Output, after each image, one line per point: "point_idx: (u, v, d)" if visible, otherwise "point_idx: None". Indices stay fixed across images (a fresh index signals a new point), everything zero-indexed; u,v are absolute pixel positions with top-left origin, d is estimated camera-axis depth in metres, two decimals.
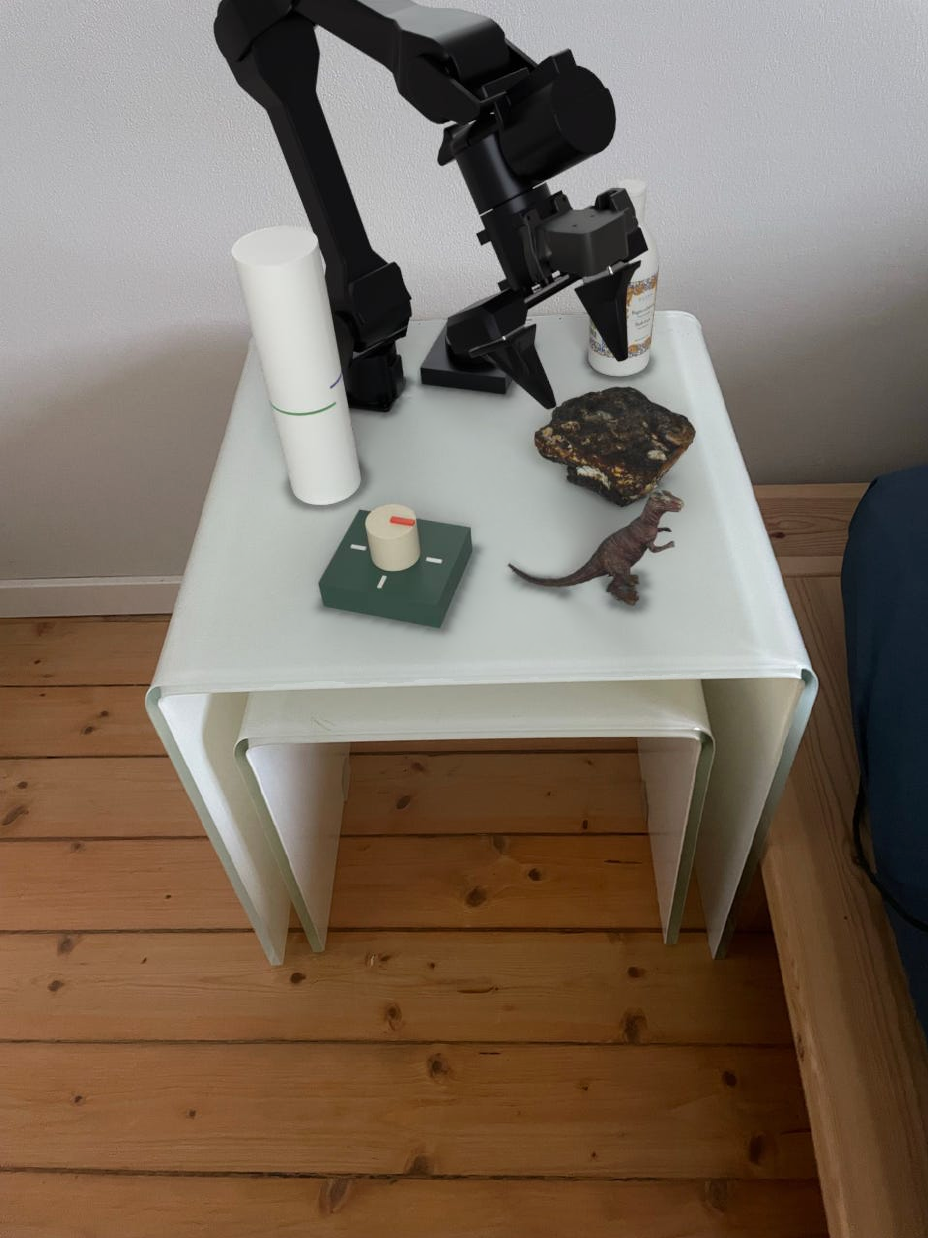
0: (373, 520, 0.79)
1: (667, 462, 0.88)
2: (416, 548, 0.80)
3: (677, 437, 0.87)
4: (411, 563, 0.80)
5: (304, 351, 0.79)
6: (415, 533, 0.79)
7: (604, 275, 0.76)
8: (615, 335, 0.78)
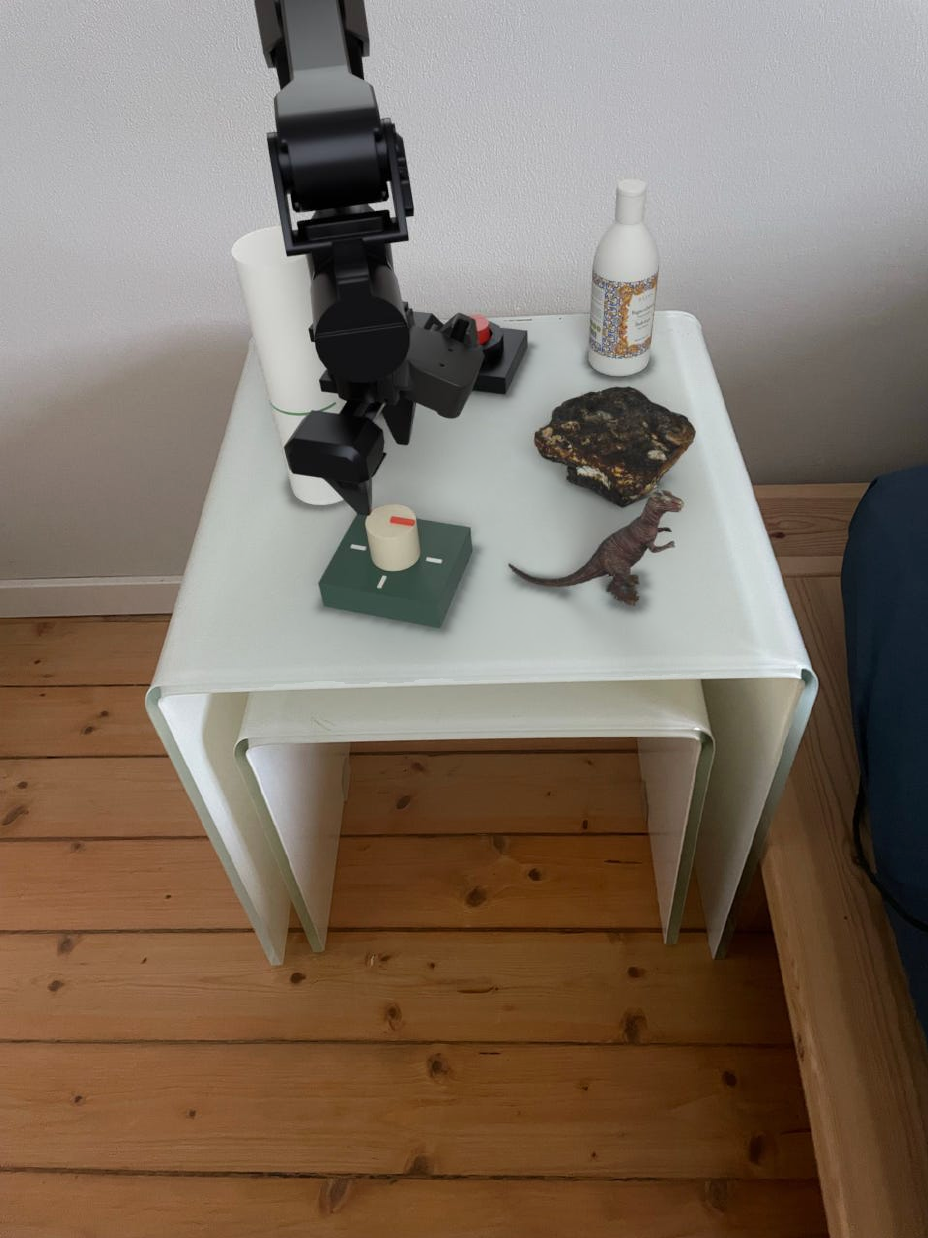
0: (373, 520, 0.79)
1: (667, 462, 0.88)
2: (416, 548, 0.80)
3: (677, 437, 0.87)
4: (411, 563, 0.80)
5: (304, 351, 0.79)
6: (415, 533, 0.79)
7: None
8: (403, 423, 0.76)
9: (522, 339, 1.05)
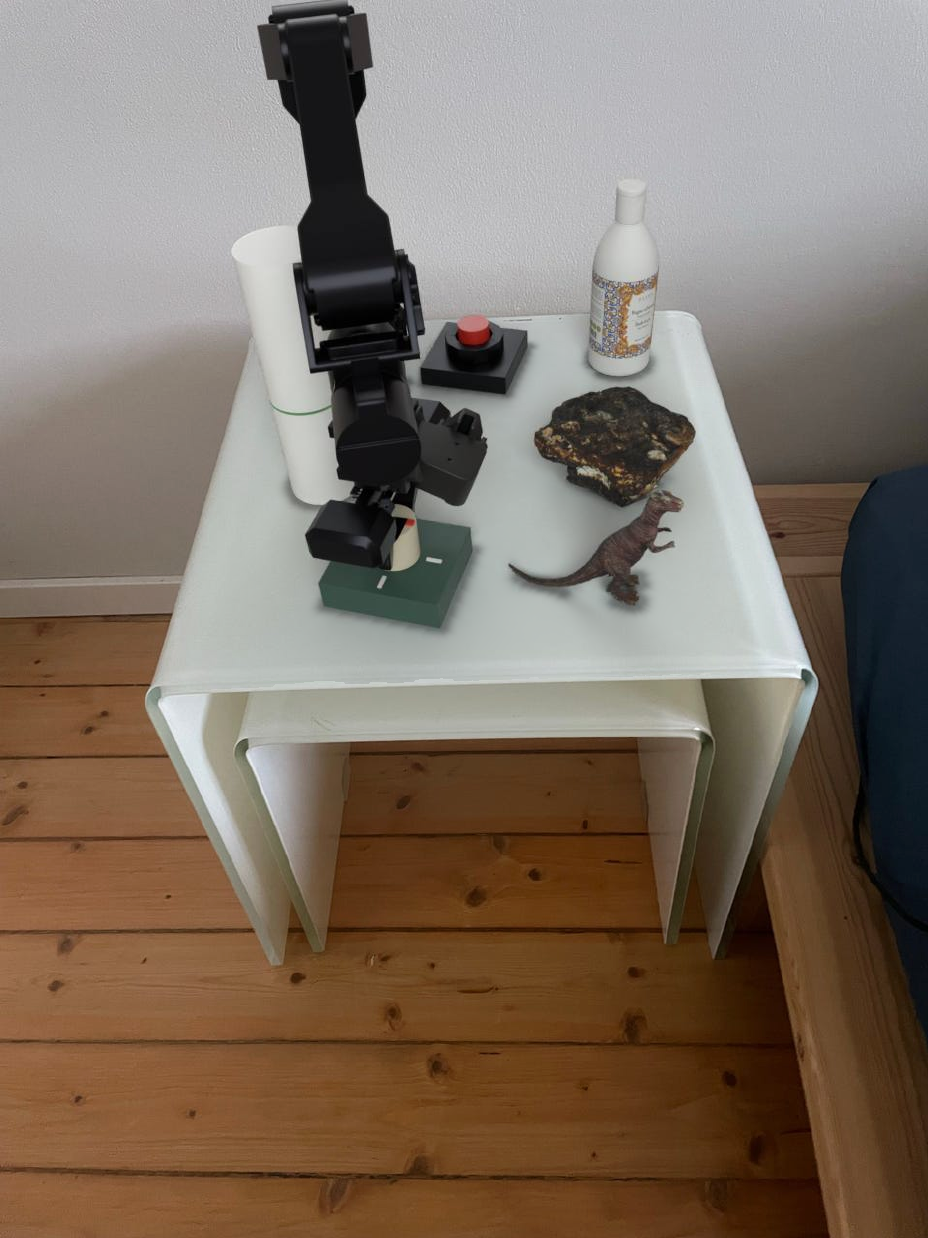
0: None
1: (667, 462, 0.88)
2: (416, 548, 0.80)
3: (677, 437, 0.87)
4: (411, 563, 0.80)
5: (304, 351, 0.79)
6: (415, 533, 0.79)
7: None
8: None
9: (522, 339, 1.05)
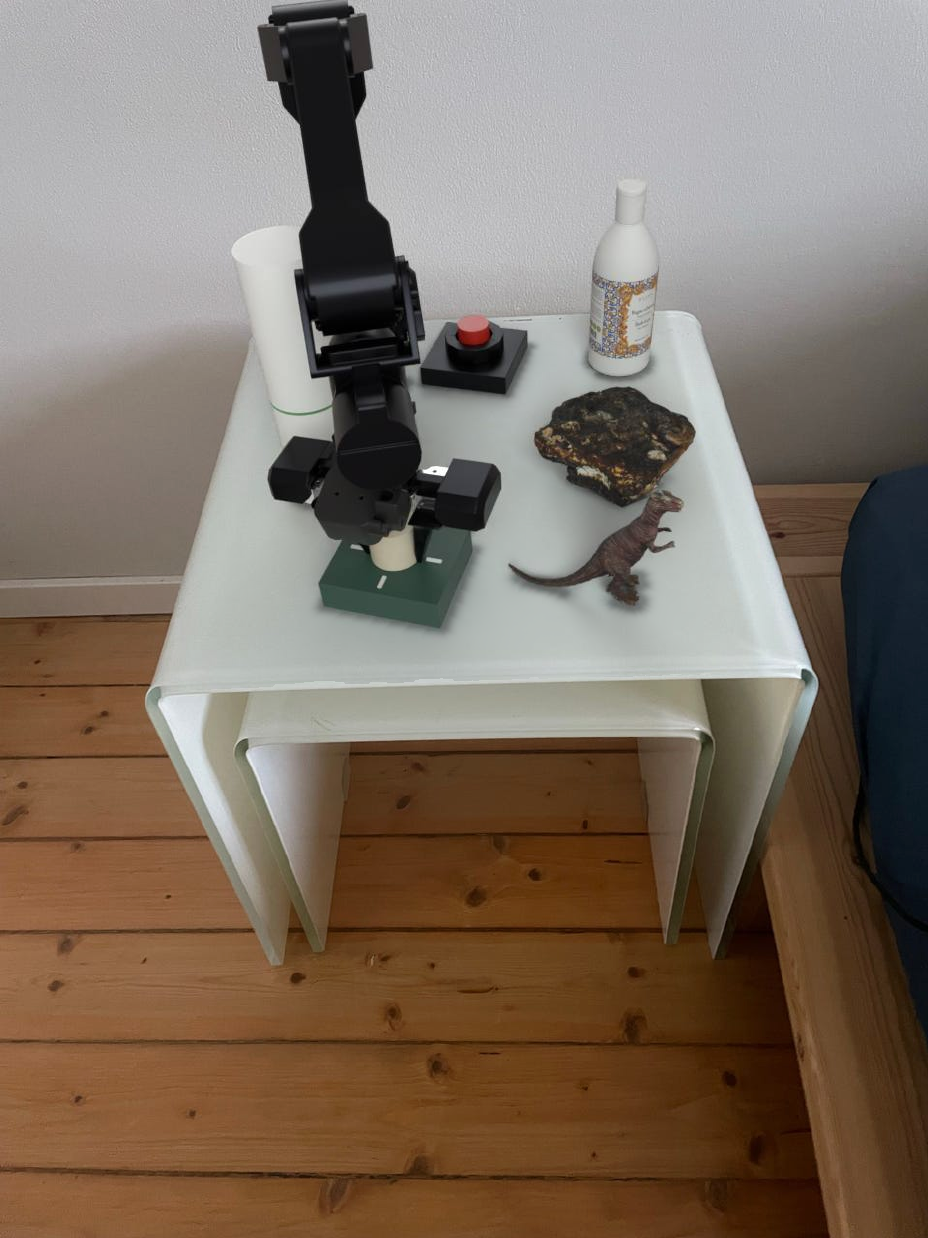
0: None
1: (667, 462, 0.88)
2: (383, 559, 0.79)
3: (677, 437, 0.87)
4: (376, 563, 0.80)
5: (304, 351, 0.79)
6: (383, 546, 0.78)
7: None
8: None
9: (522, 339, 1.05)
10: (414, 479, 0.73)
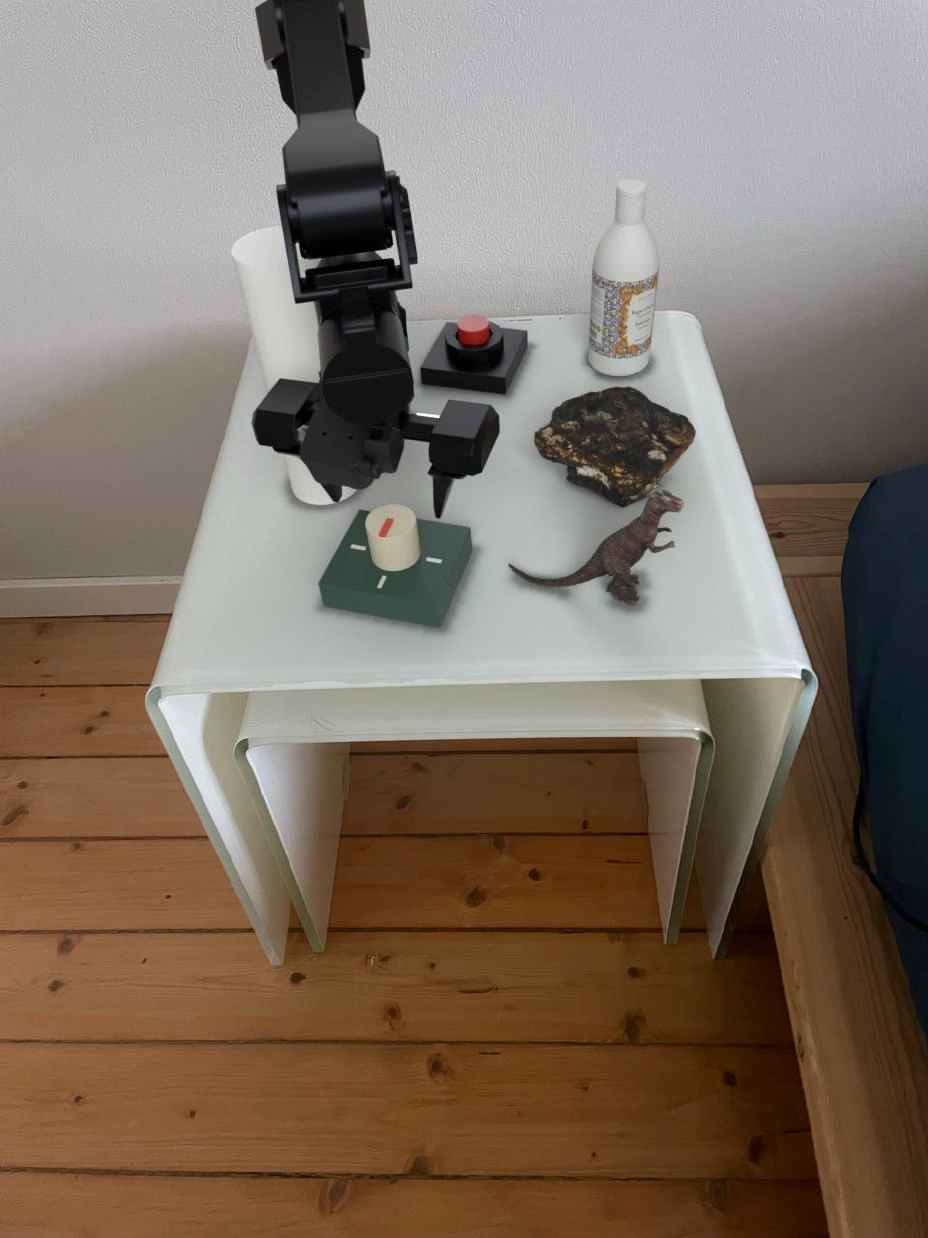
0: (392, 509, 0.79)
1: (667, 462, 0.88)
2: (383, 559, 0.79)
3: (677, 437, 0.87)
4: (376, 563, 0.80)
5: (304, 351, 0.79)
6: (383, 546, 0.78)
7: None
8: None
9: (522, 339, 1.05)
10: (406, 421, 0.69)
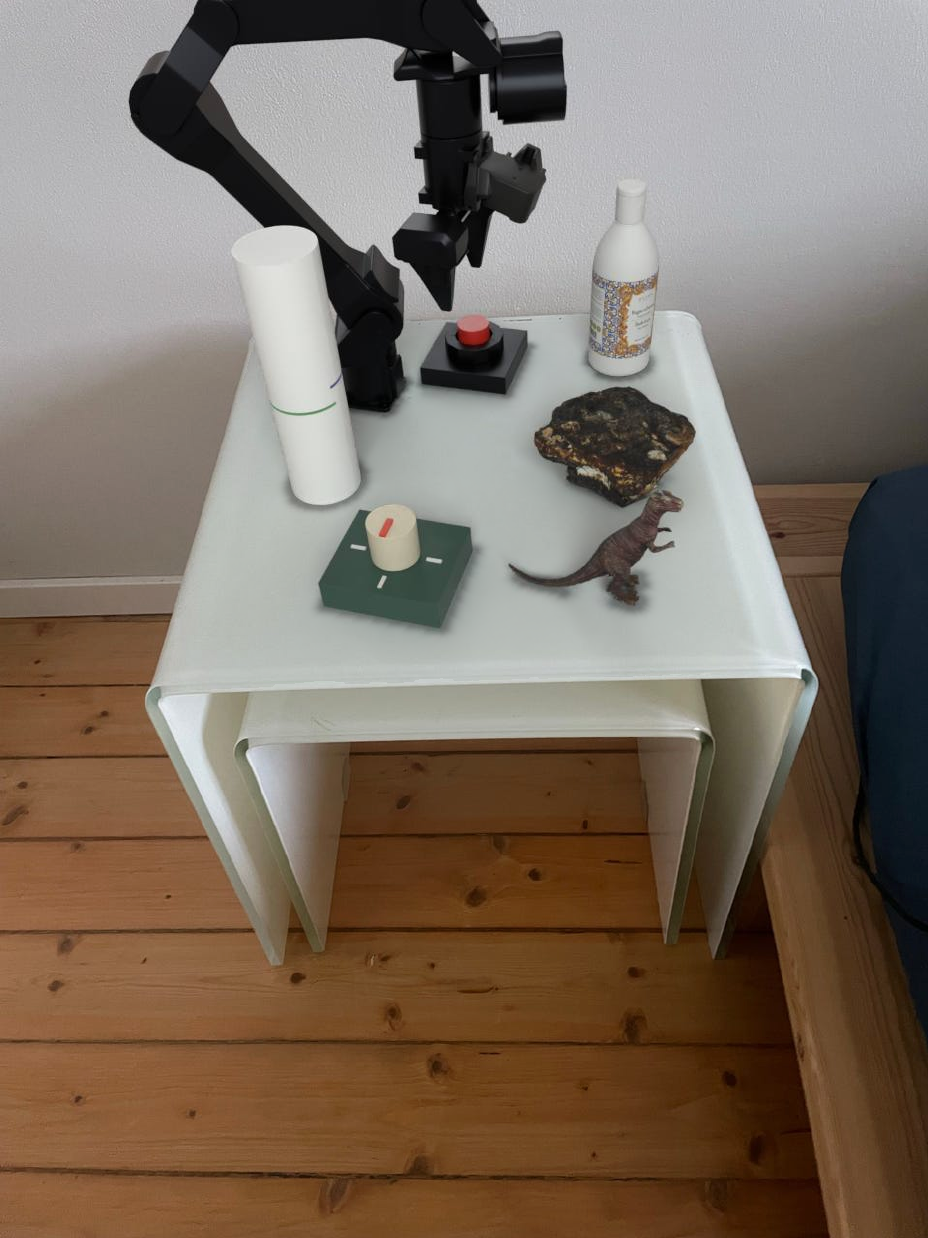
0: (392, 509, 0.79)
1: (667, 462, 0.88)
2: (383, 559, 0.79)
3: (677, 437, 0.87)
4: (376, 563, 0.80)
5: (304, 351, 0.79)
6: (383, 546, 0.78)
7: None
8: (477, 247, 0.95)
9: (522, 339, 1.05)
10: None
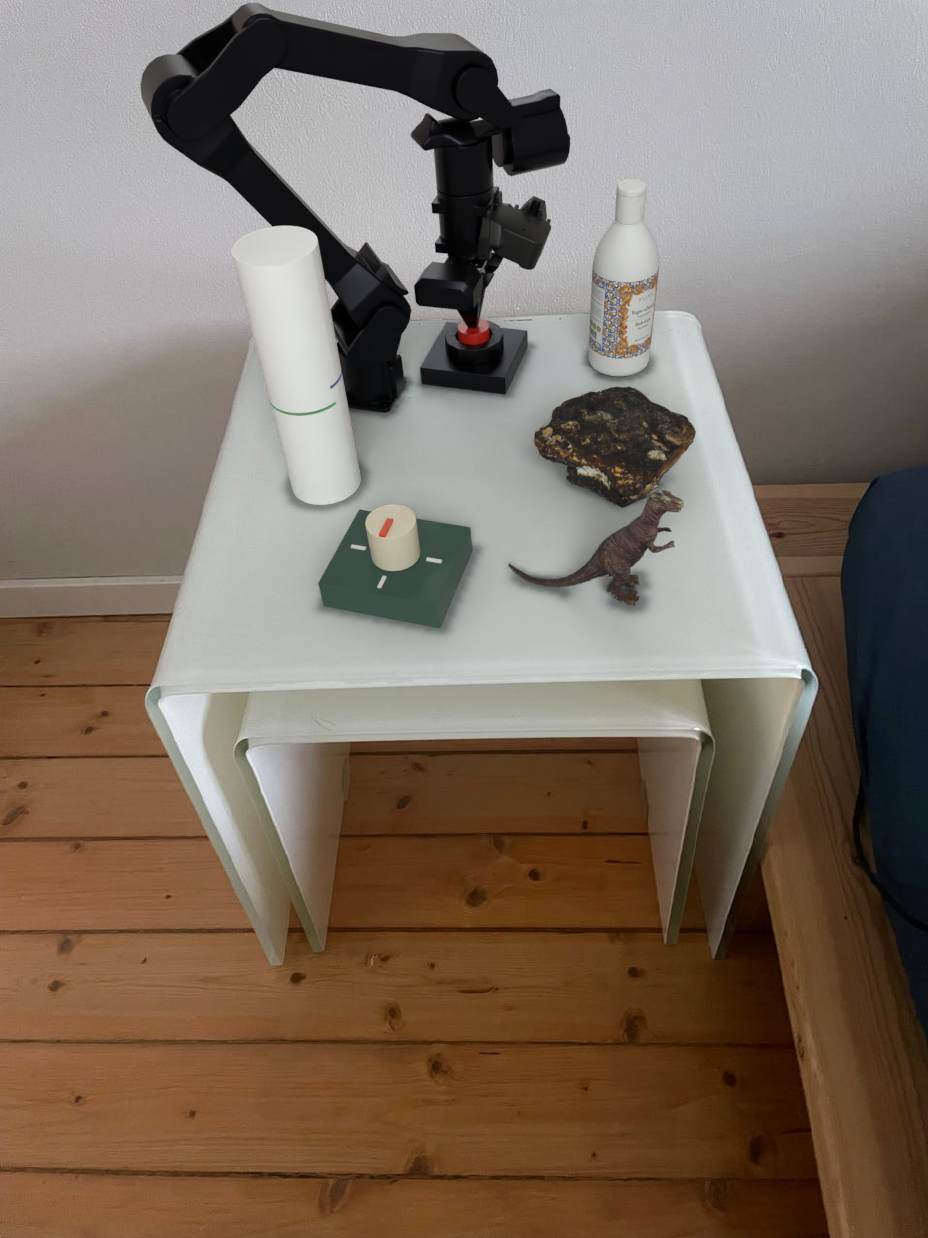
0: (392, 509, 0.79)
1: (667, 462, 0.88)
2: (383, 559, 0.79)
3: (677, 437, 0.87)
4: (376, 563, 0.80)
5: (304, 351, 0.79)
6: (383, 546, 0.78)
7: None
8: None
9: (522, 339, 1.05)
10: None
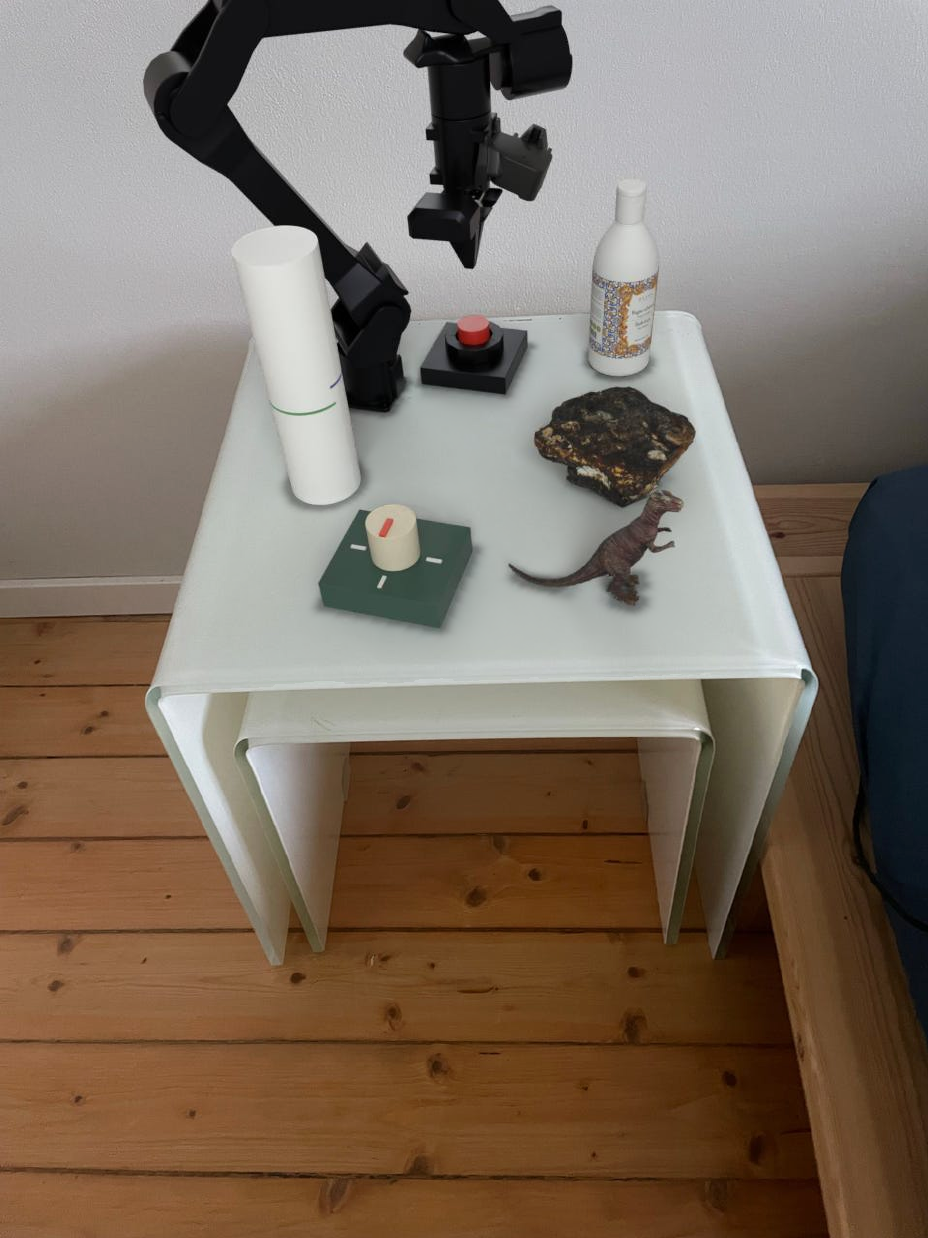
0: (392, 509, 0.79)
1: (667, 462, 0.88)
2: (383, 559, 0.79)
3: (677, 437, 0.87)
4: (376, 563, 0.80)
5: (304, 351, 0.79)
6: (383, 546, 0.78)
7: None
8: None
9: (522, 339, 1.05)
10: None
